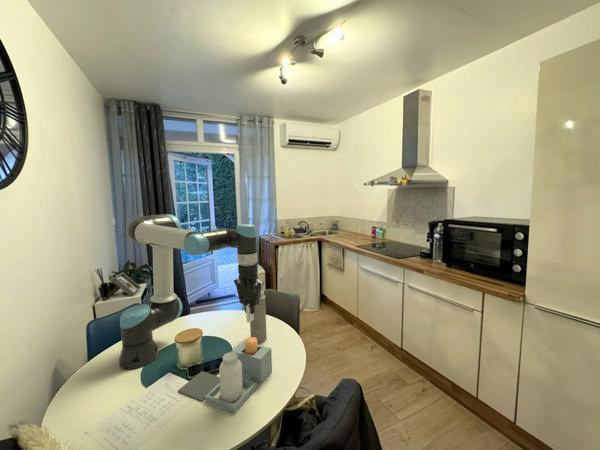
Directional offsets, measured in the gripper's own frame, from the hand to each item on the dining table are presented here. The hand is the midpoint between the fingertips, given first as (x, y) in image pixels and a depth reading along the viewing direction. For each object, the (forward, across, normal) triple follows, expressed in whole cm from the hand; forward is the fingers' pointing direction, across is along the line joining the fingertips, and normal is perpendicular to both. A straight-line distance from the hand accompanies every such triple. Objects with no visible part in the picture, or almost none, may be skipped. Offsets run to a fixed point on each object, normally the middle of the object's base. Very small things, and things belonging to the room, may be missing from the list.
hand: (250, 320), depth 105 cm
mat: (+22, -14, -14) cm, 30 cm away
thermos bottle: (+23, -12, +23) cm, 34 cm away
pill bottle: (+23, 0, -13) cm, 26 cm away
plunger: (+15, 0, 0) cm, 15 cm away
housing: (+22, 0, -8) cm, 24 cm away
